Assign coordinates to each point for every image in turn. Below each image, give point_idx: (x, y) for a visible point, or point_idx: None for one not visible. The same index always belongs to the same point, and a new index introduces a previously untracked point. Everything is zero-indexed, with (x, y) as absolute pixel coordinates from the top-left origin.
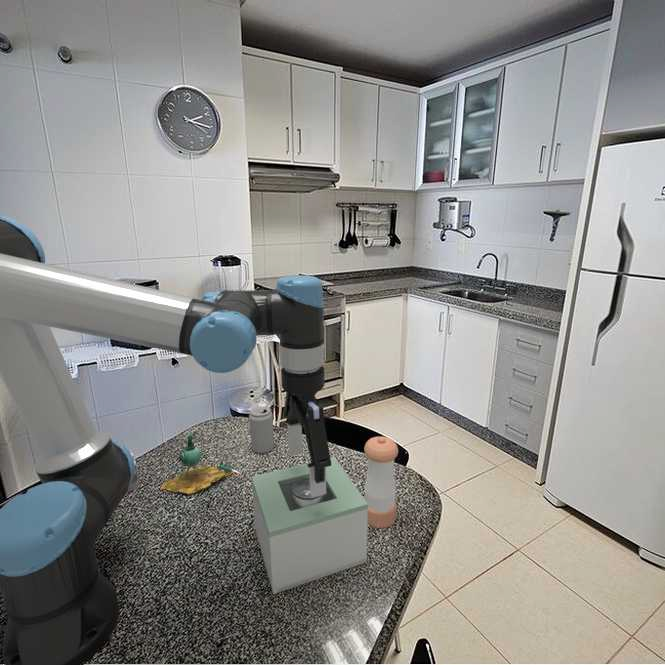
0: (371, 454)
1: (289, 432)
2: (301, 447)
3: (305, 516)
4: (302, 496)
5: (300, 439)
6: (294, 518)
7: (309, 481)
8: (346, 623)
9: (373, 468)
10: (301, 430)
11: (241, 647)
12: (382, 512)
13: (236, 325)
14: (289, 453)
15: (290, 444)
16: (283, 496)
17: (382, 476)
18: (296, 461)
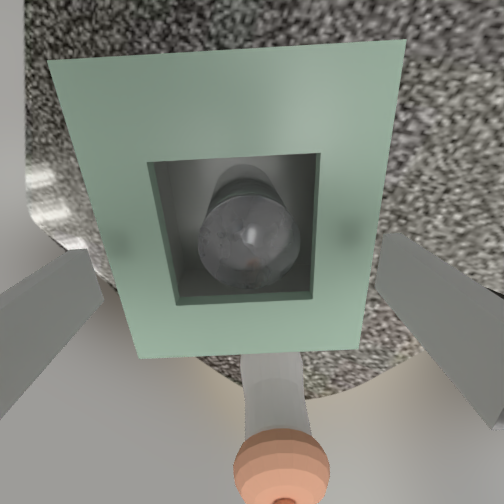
0: (259, 453)
1: (482, 312)
2: (389, 300)
3: (113, 205)
4: (206, 218)
5: (414, 327)
6: (109, 168)
7: (277, 256)
8: (80, 208)
9: (261, 408)
10: (452, 379)
11: (46, 9)
12: None
13: None
14: (391, 237)
15: (416, 266)
16: (227, 156)
17: (246, 404)
18: (499, 233)
